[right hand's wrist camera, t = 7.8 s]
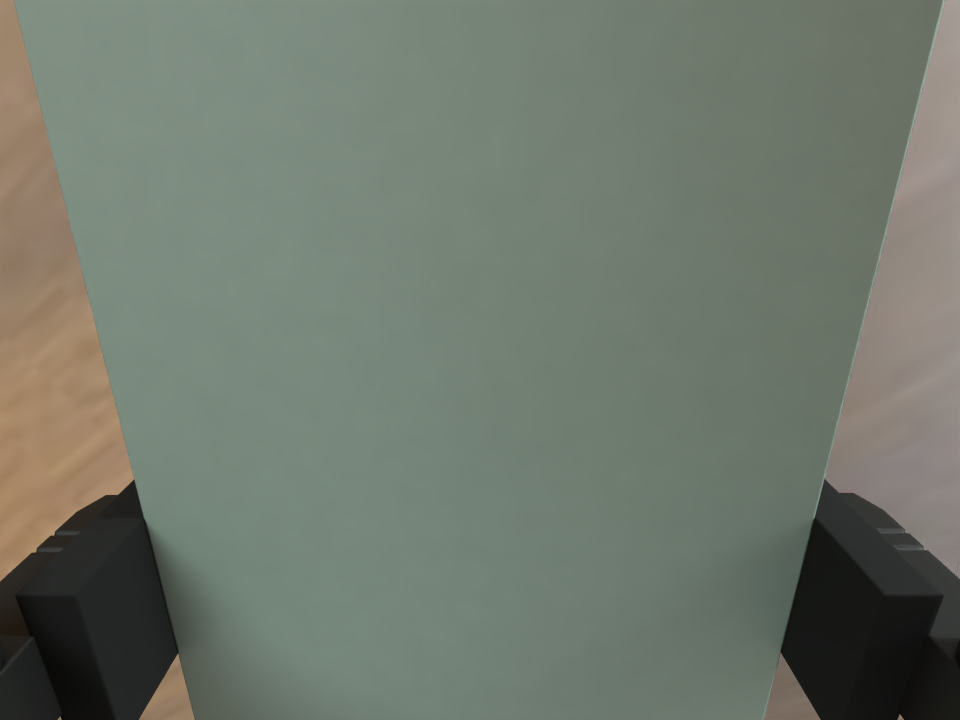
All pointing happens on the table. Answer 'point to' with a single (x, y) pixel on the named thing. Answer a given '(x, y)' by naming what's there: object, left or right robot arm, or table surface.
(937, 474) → the table surface
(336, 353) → the sage green box
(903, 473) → the table surface
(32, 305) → the table surface
